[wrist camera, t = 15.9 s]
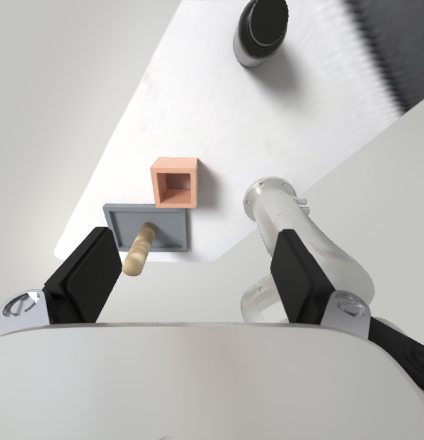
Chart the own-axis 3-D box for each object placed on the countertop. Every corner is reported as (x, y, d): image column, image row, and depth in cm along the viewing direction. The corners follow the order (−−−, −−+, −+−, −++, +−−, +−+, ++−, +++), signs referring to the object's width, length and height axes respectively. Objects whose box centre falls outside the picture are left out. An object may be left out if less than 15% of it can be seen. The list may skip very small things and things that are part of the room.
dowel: (156, 222, 52) (140, 262, 39) (157, 234, 54) (143, 276, 41) (140, 222, 52) (119, 262, 39) (142, 234, 54) (123, 276, 41)
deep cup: (197, 158, 44) (195, 168, 37) (197, 193, 49) (196, 208, 42) (159, 157, 44) (150, 167, 37) (163, 192, 48) (155, 207, 42)
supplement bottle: (251, 4, 32) (272, -42, 22) (279, 39, 34) (310, 13, 24) (224, 47, 35) (230, 24, 24) (251, 77, 37) (268, 68, 27)
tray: (185, 204, 50) (184, 208, 49) (187, 247, 57) (186, 251, 56) (105, 203, 50) (102, 206, 48) (118, 247, 57) (115, 251, 55)
